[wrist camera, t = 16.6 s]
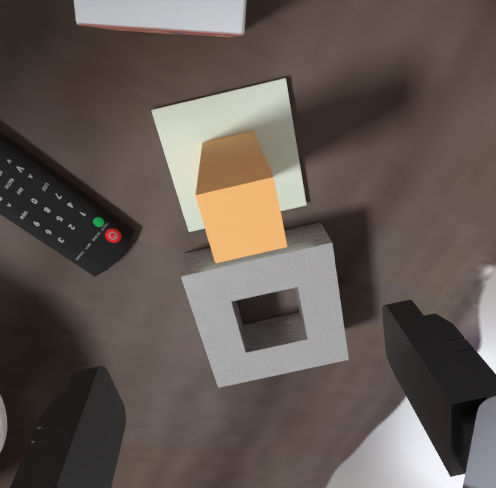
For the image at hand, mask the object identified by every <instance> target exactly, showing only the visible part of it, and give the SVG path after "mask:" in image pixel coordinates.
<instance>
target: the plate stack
mask: <svg viewBox="0 0 496 488" xmlns="http://www.w3.org/2000/svg"><path fill="white" fill-rule="evenodd" d="M6 434H7V416H6V410H5V406H4V403H3V400H2V398H1V395H0V452H1V450H2V448H3V446H4V443H5V439H6Z"/></svg>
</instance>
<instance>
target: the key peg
mask: <svg viewBox="0 0 496 488" xmlns="http://www.w3.org/2000/svg"><path fill="white" fill-rule="evenodd" d="M195 196H196V199H197V202H198V206H199V209H200V213H201V216H202V219H203V223H204V226H205V230H206V233H207V237H208V240H209V243H210V247H211V250H212V254H213V257H214V261H215V263H219V262H224V261H228V260H233V259H237V258H241V257H246V256H250V255H255V254H259V253H263V252H268V251H272V250H277V249H281V248H285V247H287V242H286V237H285V232H284V227H283V222H282V217H281V212H280V207H279V202H278V197H277V192H276V187H275V181H274V177H273V174H272V172H271V170H270V167H269V165H268V163H267V160H266V158H265V156H264V153H263V151H262V149H261V146H260V144H259V142H258V139H257V137H256V135H255V132H254V130H253V131H249V132H245V133H241V134H237V135H232V136H228V137H224V138H220V139H216V140H211V141H207V142H203V143H202V149H201V156H200V164H199V172H198V179H197V187H196V195H195Z"/></svg>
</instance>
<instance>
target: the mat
mask: <svg viewBox="0 0 496 488" xmlns="http://www.w3.org/2000/svg"><path fill="white" fill-rule="evenodd" d="M151 111H152V114H153V117H154V121H155V124H156V127H157V130H158V134H159V137H160V140H161V143H162V147H163V150H164V153H165V156H166V159H167V163H168V166H169V169H170V172H171V176H172V179H173V182H174V185H175V189H176V192H177V195H178V198H179V201H180V205H181V208H182V211H183V214H184V218H185V221H186V224H187V227H188V231H189V232H191V231H196V230H200V229H204V228H205V226H204V223H203V219H202V216H201V213H200V209H199V206H198V202H197V199H196V196H195V195H196V187H197V179H198V172H199V164H200V156H201V149H202V143H203V142H207V141H211V140H216V139H220V138H224V137H228V136H232V135H237V134H241V133H245V132H249V131H253V130H254V132H255V135H256V137H257V139H258V142H259V144H260V146H261V149H262V151H263V153H264V156H265V158H266V160H267V163H268V165H269V167H270V170H271V172H272V174H273V177H274V181H275V187H276V192H277V197H278V202H279V207H280V211H283V210H288V209H292V208H297V207H301V206H305V205H306V199H305V193H304V187H303V181H302V175H301V168H300V162H299V156H298V150H297V144H296V138H295V132H294V126H293V120H292V113H291V107H290V101H289V95H288V89H287V83H286V78H282V79H278V80H274V81H270V82H266V83H261V84H257V85H253V86H249V87H245V88H240V89H236V90H232V91H228V92H224V93H219V94H215V95H211V96H207V97H203V98H199V99H194V100H190V101H186V102H182V103H178V104H173V105H169V106H165V107H161V108H157V109H152V110H151Z"/></svg>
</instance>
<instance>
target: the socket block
mask: <svg viewBox="0 0 496 488" xmlns="http://www.w3.org/2000/svg"><path fill="white" fill-rule="evenodd" d="M284 232H285V237H286V242H287V247H285V248H281V249H277V250H272V251H268V252H263V253H259V254H255V255H250V256H246V257H241V258H237V259H233V260H228V261H224V262H219V263H215V261H214V257H213V254H212V250H211V247H209V248H205V249H201V250H196V251H192V252H187V253H184V259H183V266H182V273H181V278H182V281H183V284H184V287H185V290H186V293H187V296H188V299H189V302H190V305H191V308H192V311H193V314H194V317H195V320H196V323H197V326H198V329H199V332H200V335H201V338H202V341H203V344H204V347H205V350H206V353H207V356H208V359H209V361H210V364H211V367H212V370H213V373H214V376H215V379H216V382H217V385H218V388H219V387H224V386H229V385H233V384H238V383H242V382H247V381H252V380H256V379H261V378H266V377H270V376H275V375H280V374H284V373H289V372H294V371H298V370H303V369H308V368H312V367H317V366H321V365H326V364H331V363H335V362H340V361H345V360H349V359H348V351H347V344H346V337H345V330H344V323H343V316H342V309H341V301H340V294H339V287H338V280H337V273H336V266H335V258H334V251H333V244H332V241H331V240H330V238H329V236H328V234H327V233H326V231H325V229H324V227H323V226H322V224H321V222H320V223H315V224H311V225H307V226H302V227H298V228H293V229H289V230H284ZM294 287H295V293H296V298H297V303H298V308H299V313H294V314H290V315H285V316H281V317H276V318H271V319H267V320H262V321H258V322H253V323H249V324H244V325H243V323H242V319H241V316H240V312H239V309H238V305H237V301H236V300H240V299H245V298H249V297H254V296H258V295H263V294H267V293H272V292H276V291H281V290H285V289H290V288H294Z"/></svg>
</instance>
